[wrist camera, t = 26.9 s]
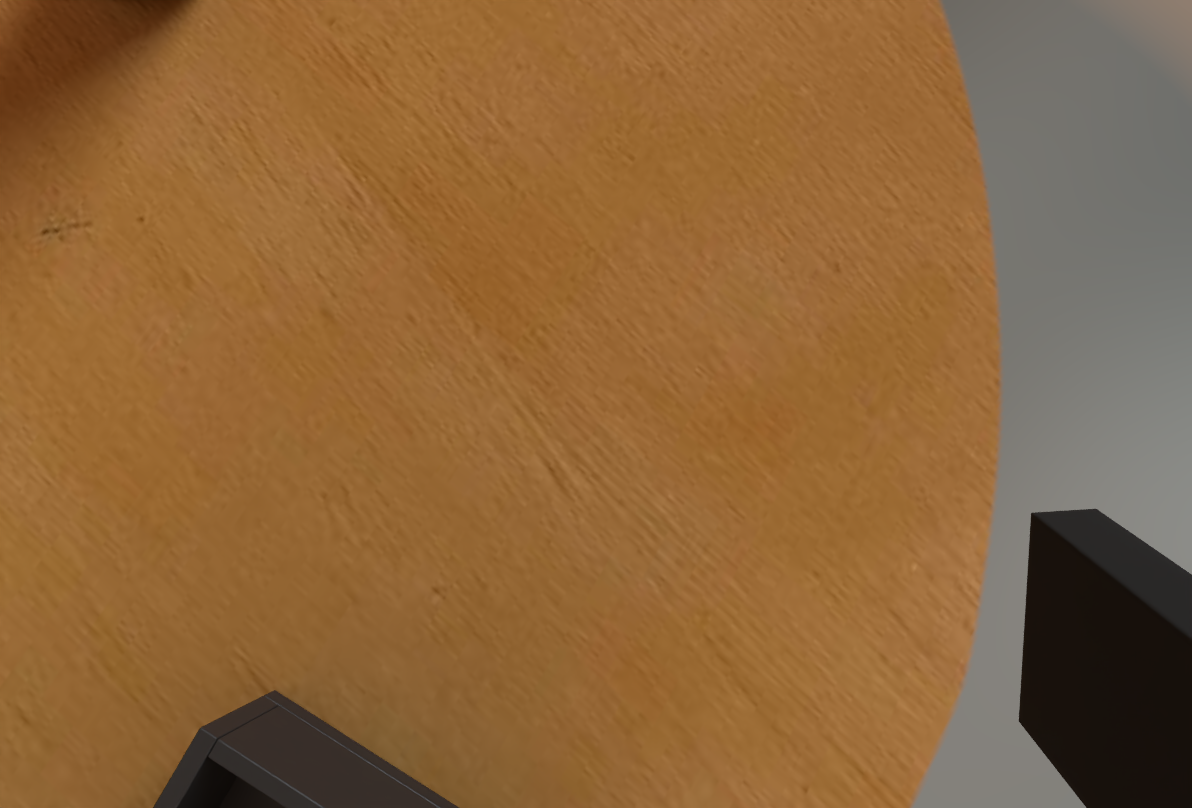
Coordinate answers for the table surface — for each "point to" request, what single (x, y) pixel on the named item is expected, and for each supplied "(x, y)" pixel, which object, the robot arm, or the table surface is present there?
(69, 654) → the table surface
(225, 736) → the tote
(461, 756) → the table surface
